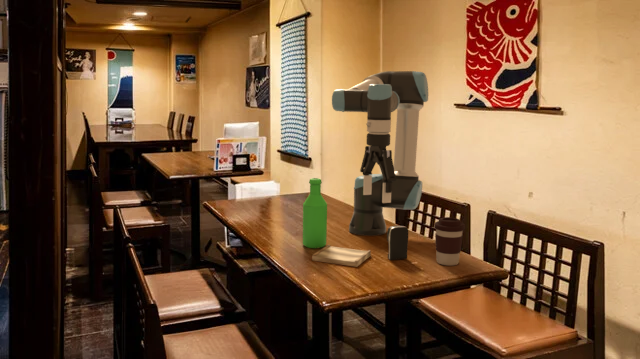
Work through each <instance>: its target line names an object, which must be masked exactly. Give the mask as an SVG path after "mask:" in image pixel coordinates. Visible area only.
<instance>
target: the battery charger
mask: <svg viewBox="0 0 640 359" xmlns="http://www.w3.org/2000/svg"><path fill="white" fill-rule="evenodd" d="M386 241H387V242H388V252H387V259H389V260H390V261H394V260H396V261H397V260H405V259H408V249H409V248H408V247H409V229H408V227H407V226H404V225H391V226H389V227H388V228H387V230H386Z"/></svg>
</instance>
